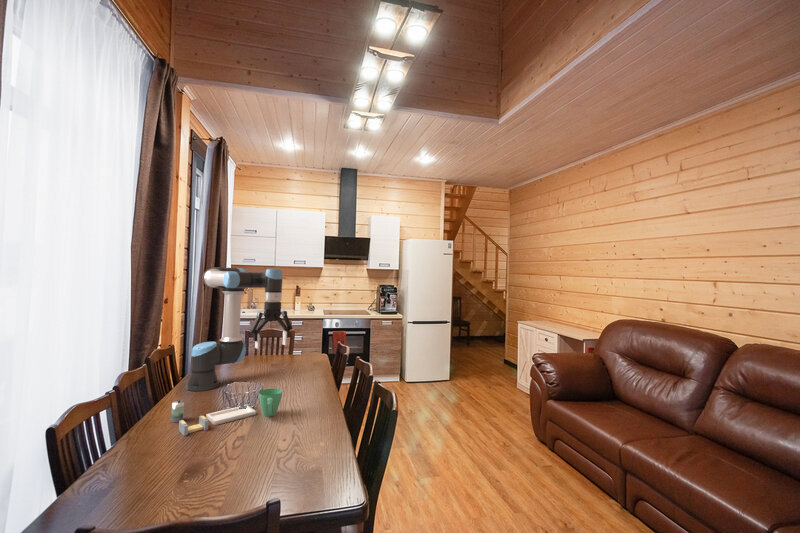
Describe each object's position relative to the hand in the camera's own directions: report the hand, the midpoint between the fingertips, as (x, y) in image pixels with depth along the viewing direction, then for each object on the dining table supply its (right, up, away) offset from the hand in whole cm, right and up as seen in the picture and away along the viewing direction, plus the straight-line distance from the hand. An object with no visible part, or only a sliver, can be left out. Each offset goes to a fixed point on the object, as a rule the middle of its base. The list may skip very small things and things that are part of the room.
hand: (271, 346), depth 169 cm
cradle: (-20, -27, -28) cm, 44 cm away
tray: (-12, -27, -14) cm, 33 cm away
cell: (-32, -26, -20) cm, 46 cm away
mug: (+4, -28, -13) cm, 31 cm away
